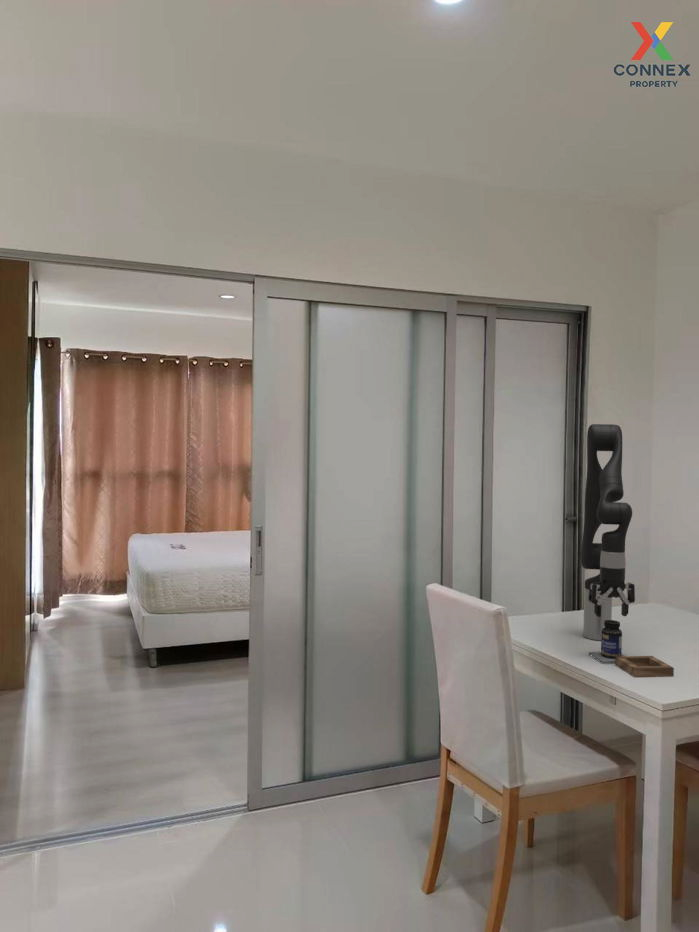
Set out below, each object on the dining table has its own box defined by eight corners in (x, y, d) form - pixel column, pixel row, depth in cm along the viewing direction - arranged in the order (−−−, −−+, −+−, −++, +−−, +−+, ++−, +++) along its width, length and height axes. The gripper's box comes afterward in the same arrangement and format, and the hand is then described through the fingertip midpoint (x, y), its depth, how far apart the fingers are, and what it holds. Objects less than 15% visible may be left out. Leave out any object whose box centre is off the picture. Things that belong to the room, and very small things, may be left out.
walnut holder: (615, 664, 221) (615, 656, 221) (651, 663, 223) (652, 655, 223) (634, 677, 209) (635, 668, 209) (673, 676, 211) (673, 667, 211)
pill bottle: (598, 656, 227) (599, 622, 226) (603, 652, 232) (604, 618, 232) (619, 660, 223) (619, 625, 223) (623, 655, 228) (624, 621, 228)
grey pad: (588, 654, 232) (588, 652, 232) (617, 653, 233) (617, 651, 233) (602, 663, 222) (602, 661, 222) (633, 663, 223) (633, 660, 223)
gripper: (628, 562, 231) (626, 612, 232) (585, 563, 229) (584, 613, 230) (640, 567, 224) (638, 618, 224) (596, 567, 222) (595, 619, 223)
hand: (611, 616), depth 227 cm, fingers open, 8 cm apart
